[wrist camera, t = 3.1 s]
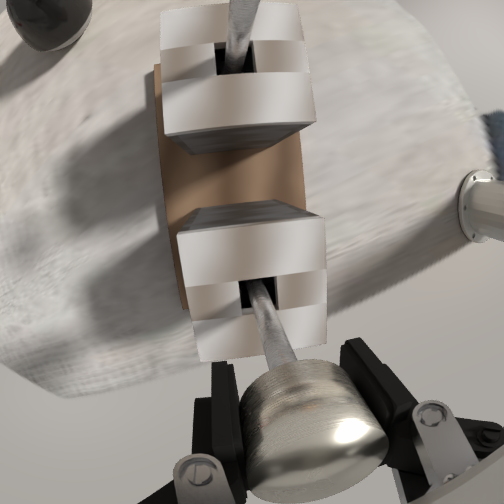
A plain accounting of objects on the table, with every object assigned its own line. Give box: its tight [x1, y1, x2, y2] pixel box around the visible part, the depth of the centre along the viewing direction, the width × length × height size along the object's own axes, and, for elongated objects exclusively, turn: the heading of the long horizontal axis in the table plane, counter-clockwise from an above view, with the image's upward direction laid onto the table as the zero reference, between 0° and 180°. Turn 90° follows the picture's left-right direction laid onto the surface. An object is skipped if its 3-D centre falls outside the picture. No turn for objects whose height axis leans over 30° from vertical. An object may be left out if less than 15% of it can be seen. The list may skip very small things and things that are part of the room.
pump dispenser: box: [6, 0, 92, 51], centre depth 18 cm, size 10×10×15 cm
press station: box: [154, 2, 327, 362], centre depth 25 cm, size 16×30×18 cm, turn 6°
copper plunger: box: [215, 0, 260, 75], centre depth 12 cm, size 7×7×20 cm
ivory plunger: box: [238, 276, 389, 504], centre depth 16 cm, size 7×7×20 cm
